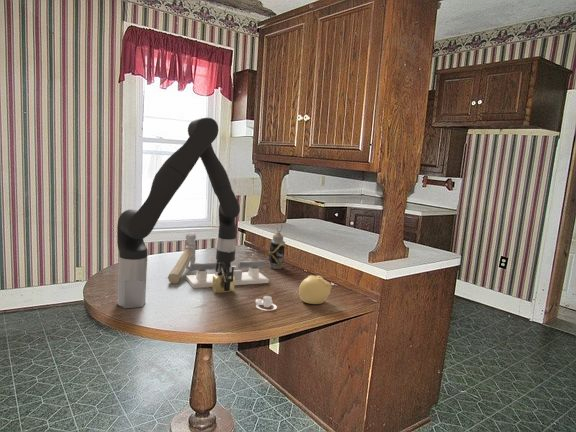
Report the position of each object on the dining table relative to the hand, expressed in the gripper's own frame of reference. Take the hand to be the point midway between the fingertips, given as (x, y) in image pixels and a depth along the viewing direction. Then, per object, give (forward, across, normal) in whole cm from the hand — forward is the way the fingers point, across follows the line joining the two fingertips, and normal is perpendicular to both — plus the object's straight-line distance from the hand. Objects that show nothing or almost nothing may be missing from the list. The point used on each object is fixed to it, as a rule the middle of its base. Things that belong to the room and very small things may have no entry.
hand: (223, 287), depth 168 cm
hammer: (+2, -24, -11) cm, 26 cm away
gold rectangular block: (+1, 0, 0) cm, 1 cm away
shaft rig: (+1, -11, +6) cm, 13 cm away
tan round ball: (+2, +20, +31) cm, 37 cm away
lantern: (+2, -27, +37) cm, 46 cm away
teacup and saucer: (+2, +18, +12) cm, 22 cm away
